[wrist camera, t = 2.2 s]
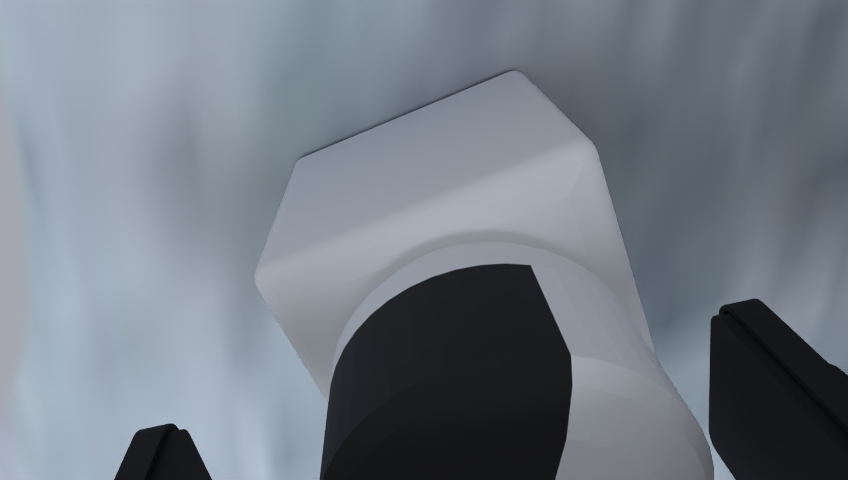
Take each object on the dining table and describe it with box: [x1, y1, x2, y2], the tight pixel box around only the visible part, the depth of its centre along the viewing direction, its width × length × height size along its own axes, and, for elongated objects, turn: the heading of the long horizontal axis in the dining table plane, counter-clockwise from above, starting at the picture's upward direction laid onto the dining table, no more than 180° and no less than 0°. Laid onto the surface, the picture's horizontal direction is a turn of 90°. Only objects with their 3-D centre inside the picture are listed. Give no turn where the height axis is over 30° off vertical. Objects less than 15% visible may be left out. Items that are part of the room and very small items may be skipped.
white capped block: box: [254, 71, 714, 480], centre depth 14 cm, size 7×7×12 cm
